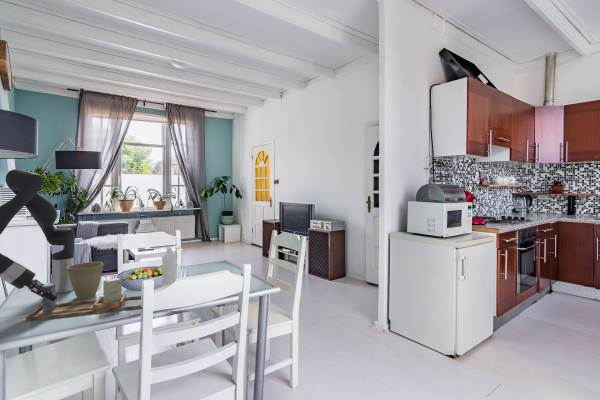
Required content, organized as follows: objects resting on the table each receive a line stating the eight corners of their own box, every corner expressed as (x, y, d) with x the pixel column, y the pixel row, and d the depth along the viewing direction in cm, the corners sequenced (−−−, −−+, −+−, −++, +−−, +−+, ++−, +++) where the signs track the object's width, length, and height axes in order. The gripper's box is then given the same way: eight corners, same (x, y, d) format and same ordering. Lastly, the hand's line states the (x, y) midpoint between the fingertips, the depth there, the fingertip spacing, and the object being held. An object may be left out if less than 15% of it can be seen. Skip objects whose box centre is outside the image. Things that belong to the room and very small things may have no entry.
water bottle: (167, 301, 150) (167, 249, 149) (159, 298, 153) (159, 248, 153) (183, 296, 157) (183, 246, 157) (175, 293, 161) (174, 245, 160)
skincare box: (108, 308, 140) (107, 282, 139) (103, 307, 142) (102, 280, 142) (122, 304, 145) (122, 278, 145) (117, 302, 147) (117, 277, 147)
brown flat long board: (25, 321, 126) (25, 317, 126) (41, 308, 140) (41, 304, 140) (147, 307, 142) (147, 303, 142) (150, 296, 156) (150, 293, 156)
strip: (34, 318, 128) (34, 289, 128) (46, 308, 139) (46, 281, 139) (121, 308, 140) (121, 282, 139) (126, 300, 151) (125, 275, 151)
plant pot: (88, 291, 165) (88, 261, 165) (110, 293, 161) (110, 262, 161) (59, 300, 151) (59, 267, 150) (83, 303, 147) (82, 269, 146)
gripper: (25, 271, 124) (63, 294, 132) (25, 264, 135) (61, 287, 143) (7, 286, 121) (47, 310, 129) (9, 279, 132) (46, 301, 140)
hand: (54, 297), depth 136 cm, fingers closed on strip, 4 cm apart
